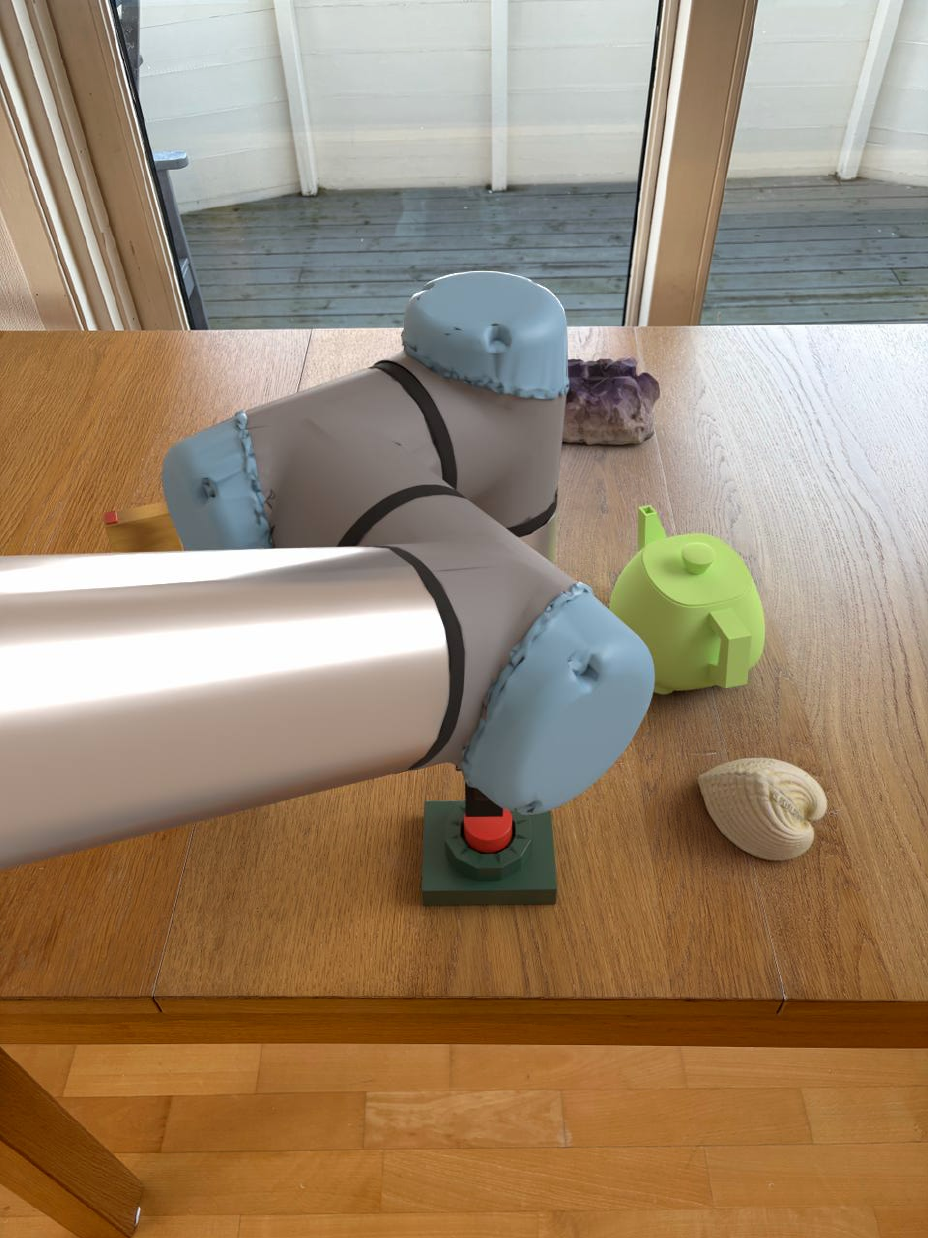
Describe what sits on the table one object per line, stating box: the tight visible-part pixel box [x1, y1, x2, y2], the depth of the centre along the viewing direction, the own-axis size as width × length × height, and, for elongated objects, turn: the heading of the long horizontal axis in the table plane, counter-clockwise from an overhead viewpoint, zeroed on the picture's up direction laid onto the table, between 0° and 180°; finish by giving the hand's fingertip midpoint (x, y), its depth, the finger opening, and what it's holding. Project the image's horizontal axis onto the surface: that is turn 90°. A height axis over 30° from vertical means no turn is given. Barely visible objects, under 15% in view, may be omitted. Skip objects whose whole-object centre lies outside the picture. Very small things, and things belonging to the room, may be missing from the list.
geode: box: [562, 356, 661, 446], centre depth 114 cm, size 20×12×10 cm, turn 87°
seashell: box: [697, 757, 828, 861], centre depth 74 cm, size 8×8×8 cm
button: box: [464, 809, 512, 853], centre depth 71 cm, size 4×4×2 cm
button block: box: [420, 799, 558, 907], centre depth 73 cm, size 10×8×4 cm
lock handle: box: [102, 500, 184, 553], centre depth 90 cm, size 6×2×9 cm, turn 109°
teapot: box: [608, 504, 766, 695], centre depth 85 cm, size 20×13×13 cm
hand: (483, 808), depth 69 cm, fingers closed
